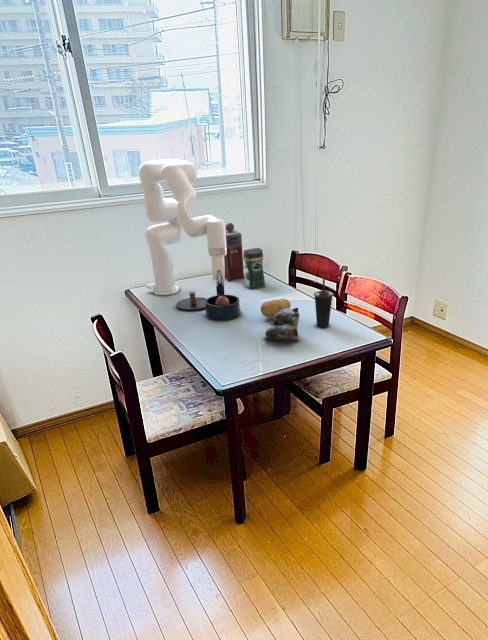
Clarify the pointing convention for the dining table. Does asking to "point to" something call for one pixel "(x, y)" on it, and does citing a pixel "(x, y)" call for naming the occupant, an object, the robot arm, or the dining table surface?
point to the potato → (274, 307)
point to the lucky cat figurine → (284, 325)
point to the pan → (222, 308)
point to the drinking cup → (323, 306)
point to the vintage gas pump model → (233, 254)
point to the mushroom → (222, 301)
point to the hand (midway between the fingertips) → (220, 290)
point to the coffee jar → (254, 268)
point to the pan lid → (191, 303)
